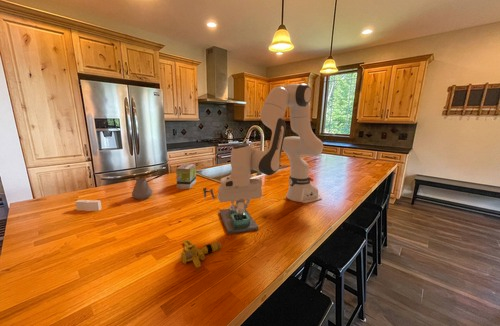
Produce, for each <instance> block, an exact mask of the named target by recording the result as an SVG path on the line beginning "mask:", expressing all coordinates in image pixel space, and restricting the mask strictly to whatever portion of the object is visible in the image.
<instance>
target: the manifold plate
mask: <svg viewBox="0 0 500 326" xmlns="http://www.w3.org/2000/svg"><path fill="white" fill-rule="evenodd" d="M218 211H219V212H218V213H219V215H220V218H221V220H222V222H223V226H224V227H225V231H226V233H227V235H229V236H230V235H234V234H239V233H241V234H242V233H246V232H253V231H259V225H258V224H257V222H256V221H255V220H254V218H253V217H252V216H251V215H252V214H250V213H249V212H248V210H247V208H245V209H244V219H241V220H239V219H236V209H235V210H233V205H230V206H228V208H224V209H219V210H218Z"/></svg>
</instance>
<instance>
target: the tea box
mask: <svg viewBox="0 0 500 326" xmlns="http://www.w3.org/2000/svg"><path fill="white" fill-rule="evenodd" d="M175 171H176V189H180V190H181V189H182V190H185V189H187V190H188V189H189V190H190V189H191V188H192V187H194V185H196V183H197V165H196V164H194V163H193V164H192V163H190V164H188V163H183V164H181V165H179V166H178V167H176V169H175Z"/></svg>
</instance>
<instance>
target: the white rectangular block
mask: <svg viewBox="0 0 500 326" xmlns="http://www.w3.org/2000/svg"><path fill="white" fill-rule="evenodd" d="M74 203H75V208H76V211H84V212H97V211H98V212H99V211H101V210H102V209H103V208H102V202H101V200H99V199H98V200H97V199H95V200H92V199H91V200H88V199H78V200H76V201H75V202H74Z"/></svg>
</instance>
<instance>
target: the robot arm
mask: <svg viewBox="0 0 500 326" xmlns="http://www.w3.org/2000/svg"><path fill="white" fill-rule="evenodd" d="M312 93H313V92H312V89H311V87H310V86H309V85H308V84H306V83H289V84H284V85H277V86H275V87H273V88H272V89H270V90H269V93H268V95H267V96H266V98H265V100H264V103H263V105H262V108H261V111H260V116H259V117H260V120H261V123H262V124H263V125H265V127H267V128H268V129H270V130H271V137H270V143H269V147H268V149H267V150H266V151H265V150H261V149H257V148H254V147H252V146H251V145H250V144H249V143H247V142H242V143H241V142H239V143H236V144H233V146H232V148H231V152H230V166H231V170H230V174H229V175H227V176H224V177H222V178H220V185H219V186H218V190H217V200H218V201H219V202H220V203H226V202H230V204H231V206H233V210H235V209H237V206H236V204H235V202H236V201H238V200H239V199H244V200H245V208H246V209H248V207H249V204H250V202H251V200H254V199H255V200H256V199H261V198H262V196H263V190H262V189H263V188H262V187H263V181H262V179H260V178H251V171H255V172H258V173H262V174H264V175H265V176H272V175H274V174H275V173H277V172H278V171H279V169H280V166H281V155H282V151H283V152H284V153H285V154H286V155H287V157H288V159H289V164H290V174H289V178H288V179H289V180H288V184H289V186H288V190H287V193H286V195H285V196H286V198H287V199H288V200H289V201H293V202H299V203H303V204H308V203H311V202H316V201H320V200H322V199H323V197H322V196H321V194H319V190H318V188H317V187H316V186H315V185H314V184H313V183H312V182H314V180H315V179H314V178H313V177H309V171H310V165H309V163H308V162H307V161H305V160H304V158H303V157H302V156H305V157H306V156H307V157H317V156H320V155H321V154H322V152H323V151H324V143H323V141H322V140H321V139H320V138H318V136H316V134H315V133H314V132H313V129H312V125H311V111H310V102H311V100H312V96H313V95H312ZM287 108H289V120H290V121H289V122H290V129H291V131H292V132H293V133H295V134H296V135H298V136H295V135H293V136H285V135H286V128H287V124H286V121H285V119H284V118H285V113H286V111H287Z"/></svg>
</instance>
